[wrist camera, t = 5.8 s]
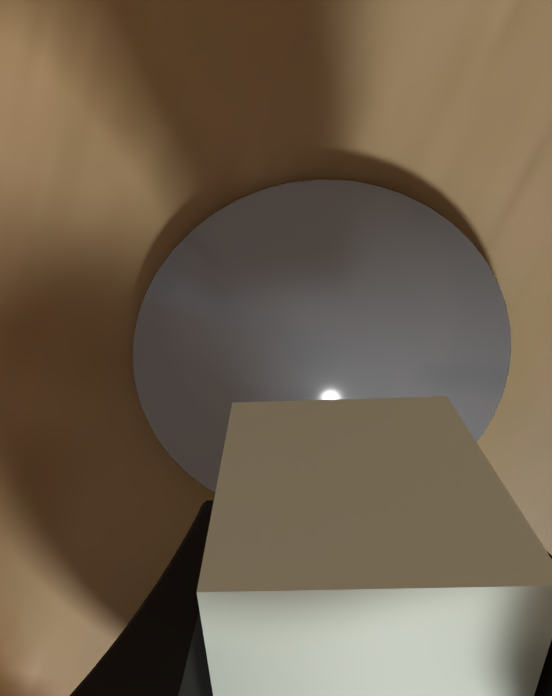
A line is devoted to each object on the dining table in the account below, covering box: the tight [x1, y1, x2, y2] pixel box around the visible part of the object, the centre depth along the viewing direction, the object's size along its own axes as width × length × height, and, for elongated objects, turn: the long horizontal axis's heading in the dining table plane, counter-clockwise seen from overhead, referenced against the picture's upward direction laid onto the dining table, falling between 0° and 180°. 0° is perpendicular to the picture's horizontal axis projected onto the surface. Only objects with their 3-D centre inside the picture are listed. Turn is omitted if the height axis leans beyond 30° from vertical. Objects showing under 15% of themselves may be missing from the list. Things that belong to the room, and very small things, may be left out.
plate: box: [133, 179, 511, 493], centre depth 18 cm, size 14×14×1 cm
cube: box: [197, 396, 552, 696], centre depth 10 cm, size 5×5×5 cm
